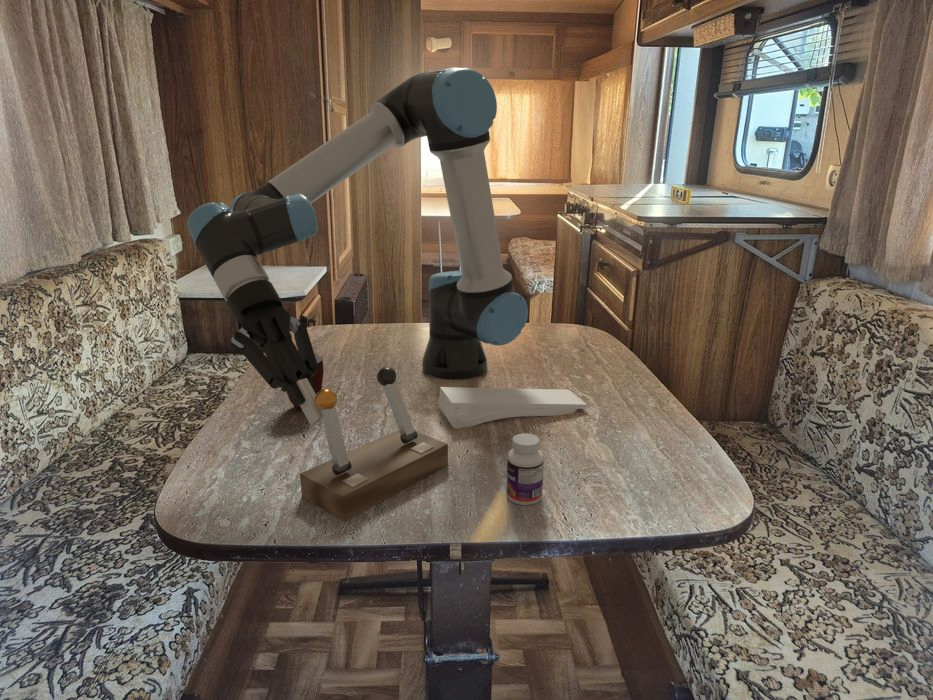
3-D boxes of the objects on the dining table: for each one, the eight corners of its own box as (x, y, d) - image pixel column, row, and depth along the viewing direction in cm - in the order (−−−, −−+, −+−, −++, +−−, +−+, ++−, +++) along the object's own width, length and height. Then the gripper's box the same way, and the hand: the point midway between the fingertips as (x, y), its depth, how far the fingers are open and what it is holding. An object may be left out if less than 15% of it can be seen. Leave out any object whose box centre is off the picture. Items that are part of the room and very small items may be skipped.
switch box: (301, 497, 101) (299, 472, 99) (405, 447, 116) (405, 426, 115) (344, 521, 94) (342, 495, 93) (448, 465, 110) (447, 442, 109)
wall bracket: (563, 423, 141) (435, 422, 132) (565, 388, 141) (437, 386, 131) (586, 431, 131) (451, 431, 122) (588, 394, 131) (453, 391, 122)
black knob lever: (397, 446, 109) (370, 372, 109) (411, 439, 111) (384, 367, 111) (409, 442, 107) (381, 367, 107) (423, 436, 109) (396, 362, 109)
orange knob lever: (328, 475, 99) (308, 392, 97) (344, 467, 101) (325, 386, 99) (341, 477, 97) (321, 392, 95) (357, 469, 99) (338, 386, 97)
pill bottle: (504, 488, 103) (505, 431, 100) (538, 487, 104) (540, 430, 101) (509, 507, 98) (510, 447, 95) (545, 505, 99) (547, 446, 96)
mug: (319, 420, 127) (315, 371, 124) (277, 420, 127) (272, 371, 124) (329, 399, 137) (326, 353, 134) (290, 399, 137) (286, 353, 134)
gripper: (276, 298, 111) (343, 418, 106) (201, 312, 101) (271, 445, 96) (292, 271, 106) (364, 396, 101) (216, 284, 96) (290, 422, 91)
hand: (318, 420), depth 99 cm, fingers closed
